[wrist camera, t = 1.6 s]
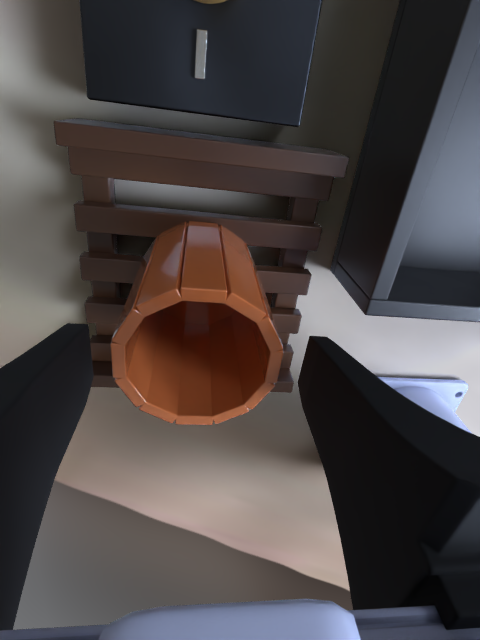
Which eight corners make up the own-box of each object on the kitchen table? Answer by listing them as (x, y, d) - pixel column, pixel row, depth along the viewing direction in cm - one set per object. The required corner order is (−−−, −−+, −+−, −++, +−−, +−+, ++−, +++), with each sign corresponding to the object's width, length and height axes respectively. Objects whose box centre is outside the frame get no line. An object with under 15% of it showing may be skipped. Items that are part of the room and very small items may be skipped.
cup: (247, 327, 20) (268, 426, 14) (143, 322, 19) (115, 424, 13) (263, 227, 17) (296, 295, 11) (141, 216, 16) (105, 282, 10)
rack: (281, 361, 23) (291, 393, 21) (99, 353, 22) (85, 387, 19) (327, 149, 17) (350, 157, 14) (77, 118, 16) (52, 120, 13)
